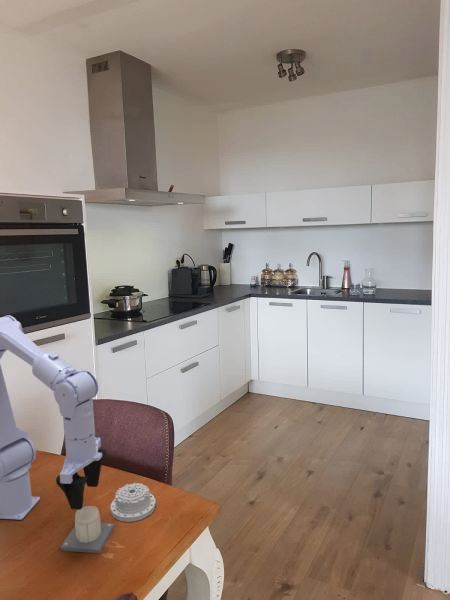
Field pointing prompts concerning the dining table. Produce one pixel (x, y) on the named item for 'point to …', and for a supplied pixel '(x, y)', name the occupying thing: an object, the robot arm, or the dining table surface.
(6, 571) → the dining table surface
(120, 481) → the dining table surface
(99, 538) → the plate
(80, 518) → the wire nut
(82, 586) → the dining table surface
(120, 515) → the mechanical component
